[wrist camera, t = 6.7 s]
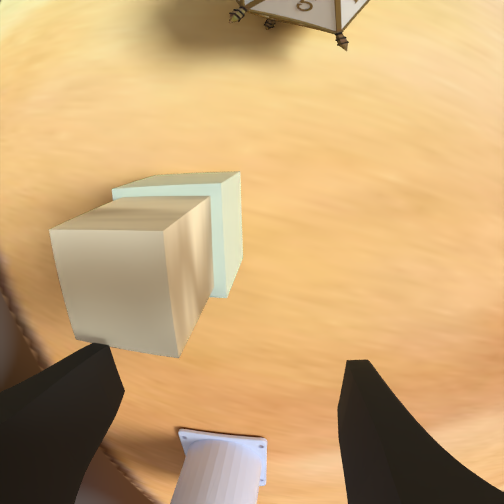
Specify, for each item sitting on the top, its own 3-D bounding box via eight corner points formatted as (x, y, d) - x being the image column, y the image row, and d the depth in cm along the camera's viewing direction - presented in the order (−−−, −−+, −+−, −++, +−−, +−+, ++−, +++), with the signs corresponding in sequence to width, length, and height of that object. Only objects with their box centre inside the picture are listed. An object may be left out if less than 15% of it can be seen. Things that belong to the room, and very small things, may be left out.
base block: (243, 257, 18) (227, 297, 14) (163, 255, 19) (127, 291, 14) (240, 171, 17) (221, 183, 12) (155, 175, 17) (111, 188, 13)
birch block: (214, 286, 14) (179, 358, 9) (133, 280, 14) (75, 339, 9) (210, 195, 12) (162, 230, 8) (123, 196, 13) (48, 229, 8)
